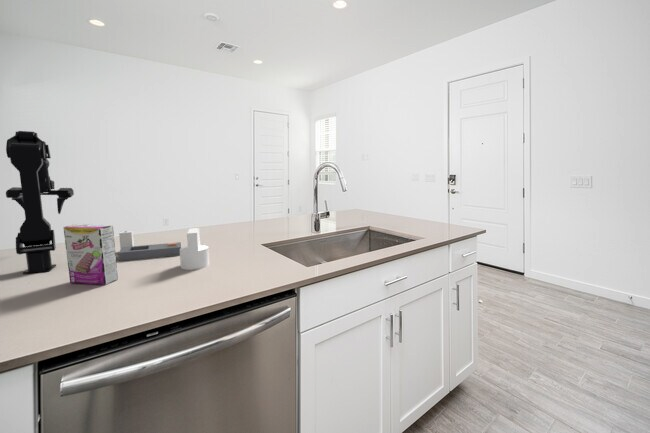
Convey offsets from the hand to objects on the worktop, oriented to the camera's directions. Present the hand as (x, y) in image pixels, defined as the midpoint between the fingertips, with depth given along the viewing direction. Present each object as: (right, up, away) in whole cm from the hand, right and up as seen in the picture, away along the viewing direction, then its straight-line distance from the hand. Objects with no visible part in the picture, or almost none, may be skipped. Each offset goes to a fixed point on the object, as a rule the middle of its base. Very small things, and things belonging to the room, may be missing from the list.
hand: (44, 213), depth 122 cm
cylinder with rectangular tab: (+67, -18, -17) cm, 71 cm away
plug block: (+33, -15, 0) cm, 36 cm away
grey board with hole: (+48, -15, -3) cm, 50 cm away
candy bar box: (+45, -20, -33) cm, 59 cm away
